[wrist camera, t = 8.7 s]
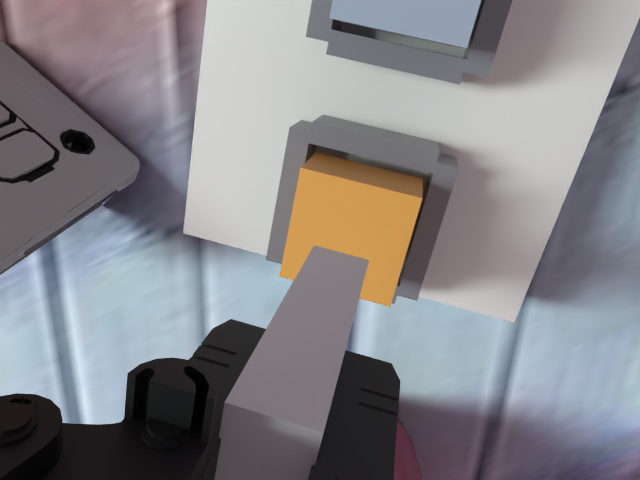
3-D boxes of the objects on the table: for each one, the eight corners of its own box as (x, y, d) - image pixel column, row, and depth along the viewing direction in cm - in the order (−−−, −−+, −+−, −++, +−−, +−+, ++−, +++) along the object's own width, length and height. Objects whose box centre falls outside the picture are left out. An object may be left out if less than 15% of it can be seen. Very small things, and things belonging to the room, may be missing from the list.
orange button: (315, 152, 19) (300, 167, 16) (422, 178, 18) (422, 198, 16) (296, 249, 20) (279, 276, 18) (394, 275, 20) (390, 306, 18)
